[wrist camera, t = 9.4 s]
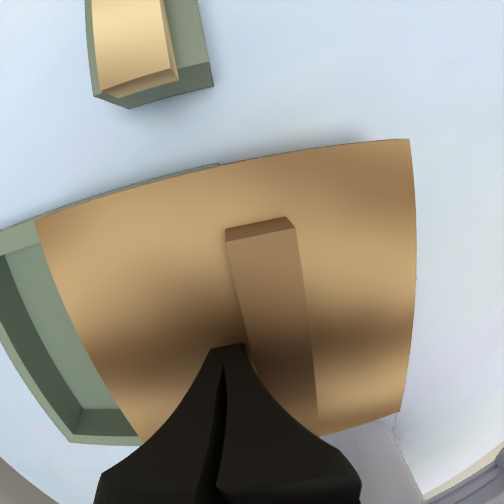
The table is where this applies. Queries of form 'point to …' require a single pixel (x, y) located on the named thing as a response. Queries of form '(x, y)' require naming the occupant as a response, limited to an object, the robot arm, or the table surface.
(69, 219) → the lid
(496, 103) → the table surface
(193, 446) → the robot arm
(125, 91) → the light wooden bar
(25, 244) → the green piece
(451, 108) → the table surface
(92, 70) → the block
